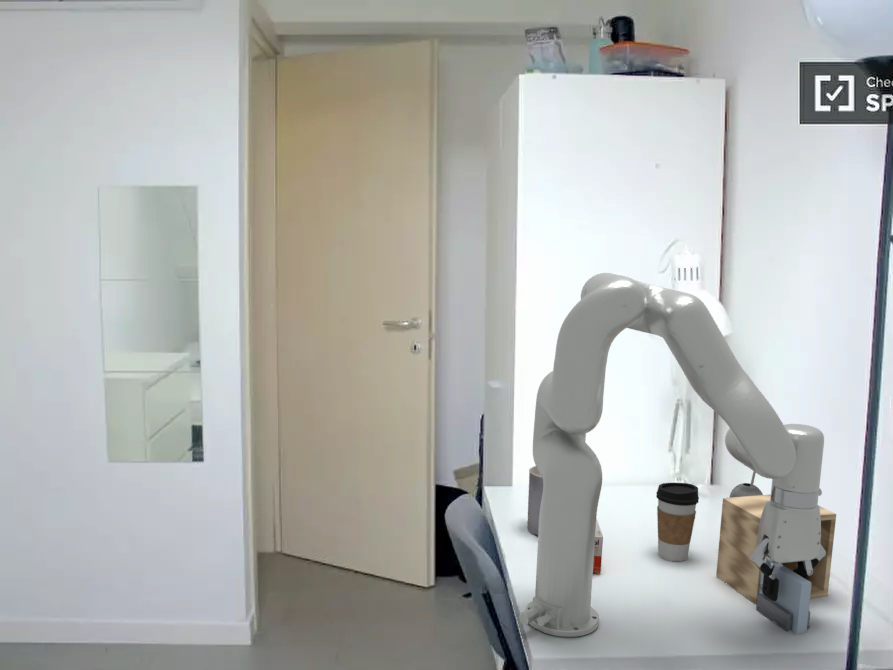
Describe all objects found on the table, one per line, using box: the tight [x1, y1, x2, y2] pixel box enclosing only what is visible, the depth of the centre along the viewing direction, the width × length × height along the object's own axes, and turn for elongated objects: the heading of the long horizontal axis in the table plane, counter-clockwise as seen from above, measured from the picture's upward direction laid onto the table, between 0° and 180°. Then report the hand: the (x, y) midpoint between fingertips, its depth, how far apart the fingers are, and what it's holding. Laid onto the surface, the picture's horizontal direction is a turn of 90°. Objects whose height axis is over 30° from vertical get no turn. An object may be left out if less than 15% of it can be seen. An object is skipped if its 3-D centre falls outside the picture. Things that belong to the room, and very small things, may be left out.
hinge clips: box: [755, 594, 812, 632], centre depth 144 cm, size 8×5×3 cm, turn 17°
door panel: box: [759, 560, 812, 635], centre depth 143 cm, size 10×3×9 cm, turn 17°
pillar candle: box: [526, 465, 543, 536], centre depth 180 cm, size 10×10×15 cm
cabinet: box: [715, 494, 837, 605], centre depth 156 cm, size 12×16×16 cm
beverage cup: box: [728, 470, 764, 498], centre depth 170 cm, size 7×7×20 cm
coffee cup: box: [655, 482, 700, 562], centre depth 169 cm, size 8×8×15 cm
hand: (784, 594), depth 143 cm, fingers open, 5 cm apart
